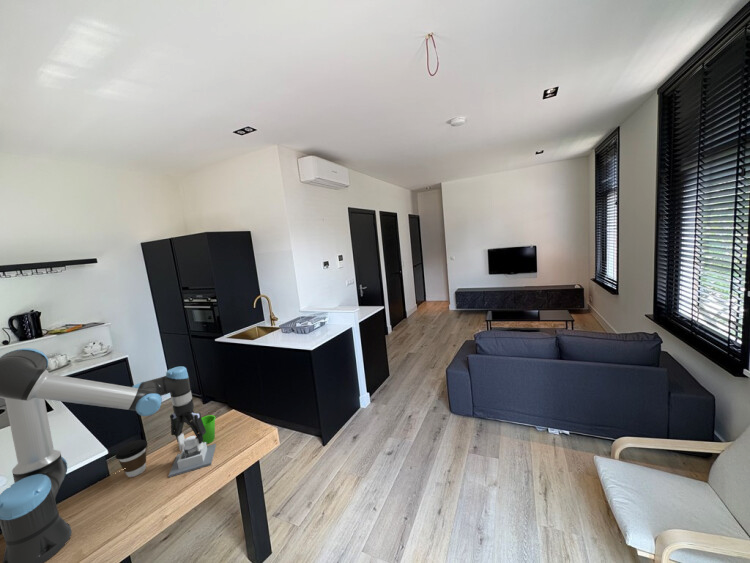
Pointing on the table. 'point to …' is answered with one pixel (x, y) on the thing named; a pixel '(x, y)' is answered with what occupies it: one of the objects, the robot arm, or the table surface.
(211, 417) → the cup
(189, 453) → the pill bottle
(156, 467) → the table surface
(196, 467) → the socket
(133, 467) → the coffee cup
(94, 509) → the table surface
